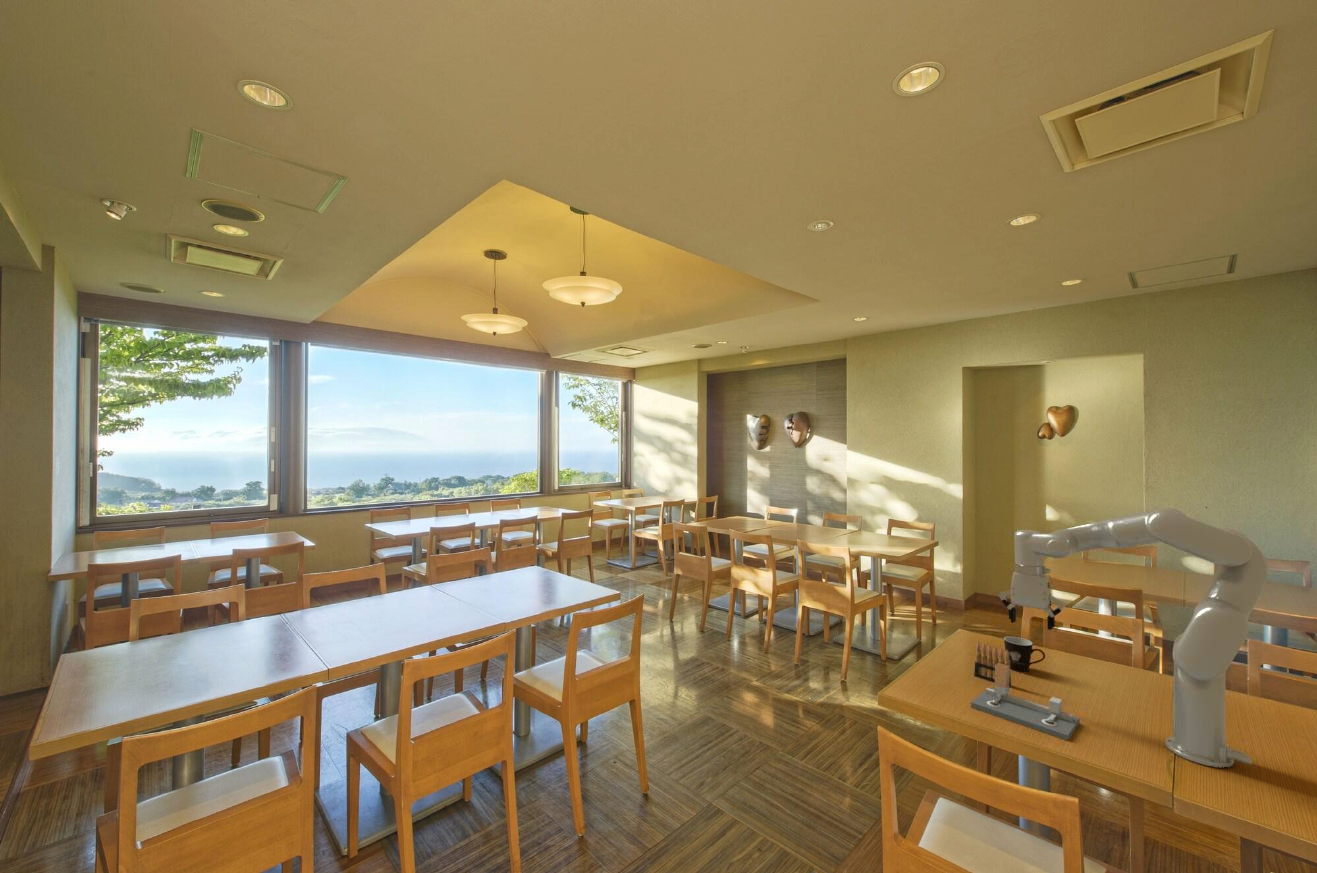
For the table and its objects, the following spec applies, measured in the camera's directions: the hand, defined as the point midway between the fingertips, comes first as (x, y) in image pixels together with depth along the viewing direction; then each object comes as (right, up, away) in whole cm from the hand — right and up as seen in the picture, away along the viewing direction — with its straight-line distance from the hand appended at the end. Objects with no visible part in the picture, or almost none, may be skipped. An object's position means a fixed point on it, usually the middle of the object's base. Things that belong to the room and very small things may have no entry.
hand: (1031, 625), depth 166 cm
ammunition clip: (-3, -25, +16) cm, 29 cm away
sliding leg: (-11, -23, -2) cm, 25 cm away
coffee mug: (+14, -25, +24) cm, 38 cm away
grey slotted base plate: (-8, -24, -7) cm, 26 cm away
